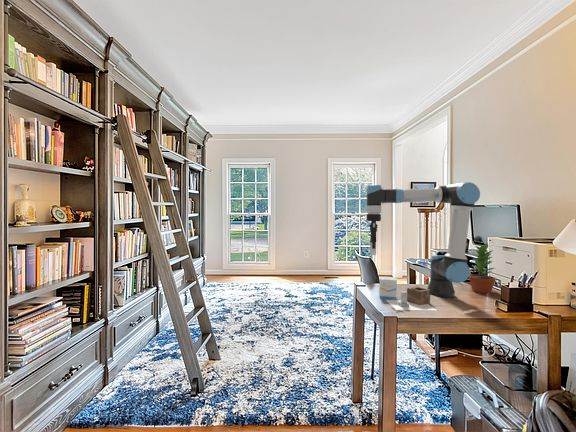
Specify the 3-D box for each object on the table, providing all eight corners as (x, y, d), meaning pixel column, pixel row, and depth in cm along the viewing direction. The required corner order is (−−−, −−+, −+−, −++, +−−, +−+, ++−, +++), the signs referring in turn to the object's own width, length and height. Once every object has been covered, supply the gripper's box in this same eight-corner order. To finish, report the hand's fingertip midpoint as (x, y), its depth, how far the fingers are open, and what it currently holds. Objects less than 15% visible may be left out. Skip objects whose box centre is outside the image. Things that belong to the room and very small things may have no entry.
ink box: (396, 302, 187) (397, 280, 186) (379, 300, 188) (380, 279, 188) (394, 298, 195) (395, 277, 195) (379, 296, 197) (379, 276, 196)
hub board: (422, 302, 186) (423, 287, 186) (437, 312, 168) (438, 296, 168) (385, 302, 186) (385, 286, 186) (396, 312, 168) (396, 295, 168)
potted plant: (479, 287, 227) (480, 241, 226) (500, 293, 212) (502, 243, 212) (461, 289, 221) (463, 241, 221) (482, 294, 207) (484, 244, 206)
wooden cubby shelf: (417, 299, 188) (417, 285, 187) (429, 303, 181) (430, 288, 181) (406, 301, 184) (407, 286, 183) (419, 305, 177) (420, 290, 176)
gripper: (366, 213, 202) (365, 250, 202) (366, 213, 177) (366, 255, 178) (379, 213, 200) (379, 250, 201) (382, 214, 176) (381, 256, 176)
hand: (372, 253), depth 189 cm, fingers open, 13 cm apart
